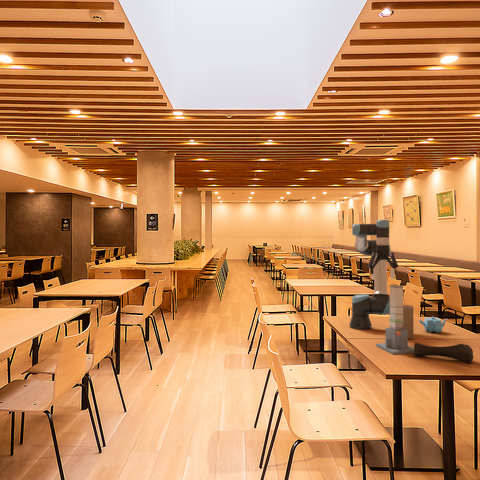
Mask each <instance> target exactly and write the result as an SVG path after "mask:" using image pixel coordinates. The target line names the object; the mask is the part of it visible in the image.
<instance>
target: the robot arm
mask: <svg viewBox="0 0 480 480" xmlns="http://www.w3.org/2000/svg"><path fill="white" fill-rule="evenodd" d="M351 227H352V231H351V232H352V233H351V234H352V236H355V241H354V248H355V251H357V253H359V254H361V255H363V256H369V257H370V256H371V257H370V259H369V261H368V264H367V266H366V267H367V268H368V269H370V270H369V272H370V273H369V274H370V278H371V280H373V281H374V285H373V286H374V287H373V290H374V292H373V293H372V294H371V296H370V295H369V294H364V293H363V294H356V295H353V296H352V298H351V317H350V322H349V327H350V328H351V329H354V330H360V331H362V330H363V331H366V330H367V331H369V330H371V329H372V326H373V324H372V322H371V319H370V314H376V315H390V313H389V312H390V306H389V305H390V293H389V292H388V273H387V272H388V270H387V269H388V268H387V266H388V265H387V263H388V264H389V266H390V267H391V268H390V279H392V280H395V274H396V269H397V268H399V264H398V261H397V260H396V257H395V253H394V252H393V251H391V245H390V220H389V219H378V220H376V223H354V224H352V226H351ZM368 236H376V239H368Z"/></svg>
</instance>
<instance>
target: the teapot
mask: <svg viewBox="0 0 480 480" xmlns="http://www.w3.org/2000/svg"><path fill="white" fill-rule="evenodd" d="M447 320H449V319H448V318H445V319H443V321H442V320H441V319H440V318H437V317H435V316H431V317H425V318H424V321H423V320H422V319H420V320H419V321H418V322H419V324H421V325H423V326H424V327H423V328H424V330H425V331H427V332H428V333H430V334H431V333H432V332H435V333H436V334H440V333H442V331H443V328H444V326H445V325H446V321H447Z"/></svg>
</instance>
